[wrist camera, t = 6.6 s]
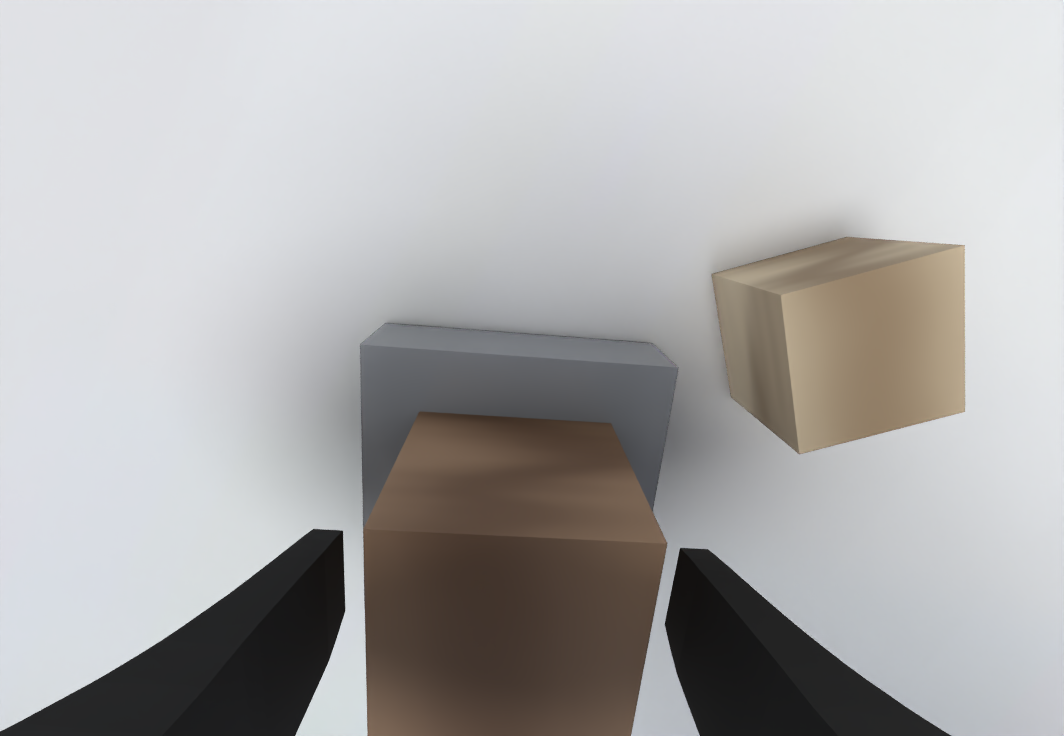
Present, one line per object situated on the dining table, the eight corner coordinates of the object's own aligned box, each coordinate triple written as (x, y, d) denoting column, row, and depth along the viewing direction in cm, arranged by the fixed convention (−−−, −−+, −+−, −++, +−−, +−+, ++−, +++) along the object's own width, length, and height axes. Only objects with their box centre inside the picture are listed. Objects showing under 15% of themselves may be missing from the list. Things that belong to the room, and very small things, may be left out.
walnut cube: (611, 423, 13) (667, 544, 8) (589, 580, 15) (626, 759, 10) (419, 411, 13) (363, 529, 8) (417, 572, 14) (367, 754, 9)
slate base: (652, 342, 15) (678, 367, 13) (616, 563, 17) (633, 619, 15) (385, 323, 15) (360, 344, 12) (385, 552, 17) (364, 608, 15)
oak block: (845, 236, 14) (964, 245, 11) (854, 363, 16) (964, 411, 12) (710, 273, 15) (780, 295, 11) (729, 396, 16) (799, 454, 12)
